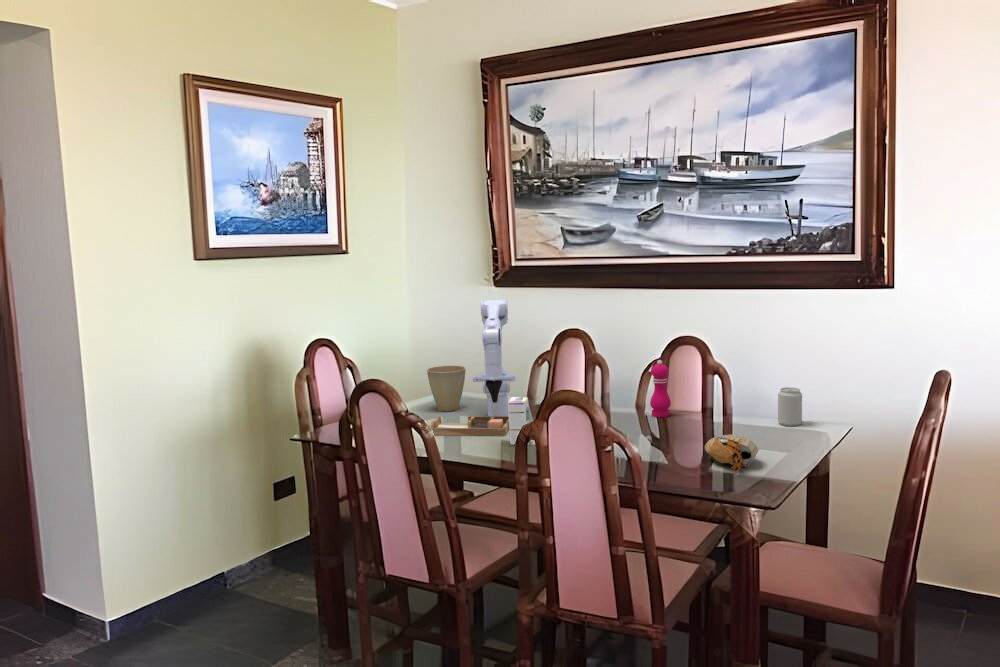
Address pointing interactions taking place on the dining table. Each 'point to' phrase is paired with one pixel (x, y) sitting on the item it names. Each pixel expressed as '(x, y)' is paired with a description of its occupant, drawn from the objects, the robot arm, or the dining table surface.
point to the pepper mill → (660, 391)
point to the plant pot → (446, 386)
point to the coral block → (496, 423)
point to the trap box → (470, 427)
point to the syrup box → (517, 415)
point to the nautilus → (732, 450)
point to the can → (790, 406)
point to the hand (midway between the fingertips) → (495, 402)
